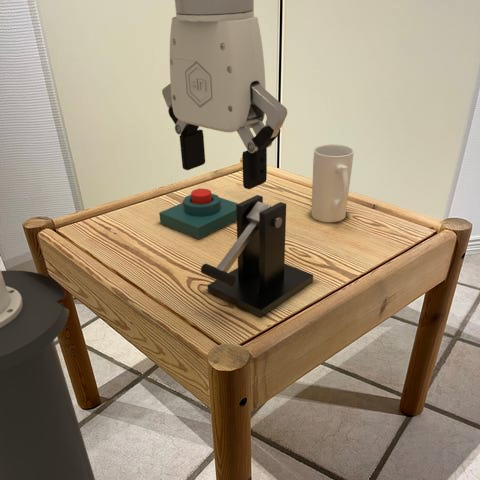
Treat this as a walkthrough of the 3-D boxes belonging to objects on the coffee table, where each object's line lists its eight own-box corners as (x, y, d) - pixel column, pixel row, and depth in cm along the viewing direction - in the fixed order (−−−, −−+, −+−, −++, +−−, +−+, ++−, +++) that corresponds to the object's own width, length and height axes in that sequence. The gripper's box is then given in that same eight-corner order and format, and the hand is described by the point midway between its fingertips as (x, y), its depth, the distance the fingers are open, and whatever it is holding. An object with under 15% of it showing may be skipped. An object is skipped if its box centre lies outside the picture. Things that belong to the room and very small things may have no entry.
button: (201, 207, 90) (201, 197, 89) (187, 202, 92) (186, 192, 91) (215, 200, 92) (215, 191, 91) (201, 196, 94) (201, 187, 93)
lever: (232, 290, 66) (225, 280, 64) (205, 277, 68) (197, 267, 66) (284, 219, 68) (279, 207, 66) (255, 210, 71) (249, 198, 69)
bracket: (261, 317, 68) (261, 230, 61) (207, 292, 74) (202, 208, 67) (313, 281, 76) (318, 199, 68) (261, 260, 81) (261, 182, 74)
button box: (198, 239, 88) (197, 217, 85) (160, 223, 93) (157, 203, 91) (245, 216, 95) (244, 196, 93) (206, 203, 100) (205, 183, 98)
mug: (305, 210, 97) (308, 146, 90) (338, 206, 98) (344, 142, 91) (323, 233, 89) (328, 164, 82) (359, 228, 90) (368, 160, 83)
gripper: (127, 1, 51) (149, 168, 61) (256, 6, 42) (258, 204, 52) (182, -5, 56) (195, 153, 66) (311, -1, 46) (303, 183, 56)
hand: (223, 175), depth 59 cm, fingers open, 9 cm apart
